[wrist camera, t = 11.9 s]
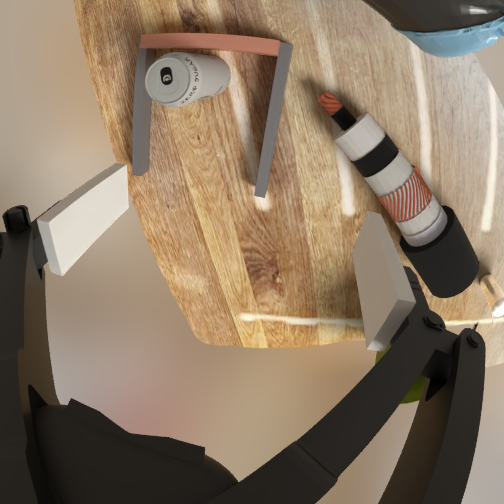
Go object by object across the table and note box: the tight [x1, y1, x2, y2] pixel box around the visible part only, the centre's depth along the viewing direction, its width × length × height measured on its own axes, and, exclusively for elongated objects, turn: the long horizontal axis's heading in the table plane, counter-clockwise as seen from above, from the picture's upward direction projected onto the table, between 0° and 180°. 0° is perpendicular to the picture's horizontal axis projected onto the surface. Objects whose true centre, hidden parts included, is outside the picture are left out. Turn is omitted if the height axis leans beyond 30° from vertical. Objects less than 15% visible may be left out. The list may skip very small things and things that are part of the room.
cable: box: [317, 90, 479, 298], centre depth 37 cm, size 10×34×10 cm, turn 44°
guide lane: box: [132, 33, 293, 198], centre depth 37 cm, size 22×21×5 cm
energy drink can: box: [145, 52, 231, 107], centre depth 30 cm, size 6×6×15 cm
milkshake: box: [480, 274, 504, 324], centre depth 43 cm, size 4×5×10 cm
